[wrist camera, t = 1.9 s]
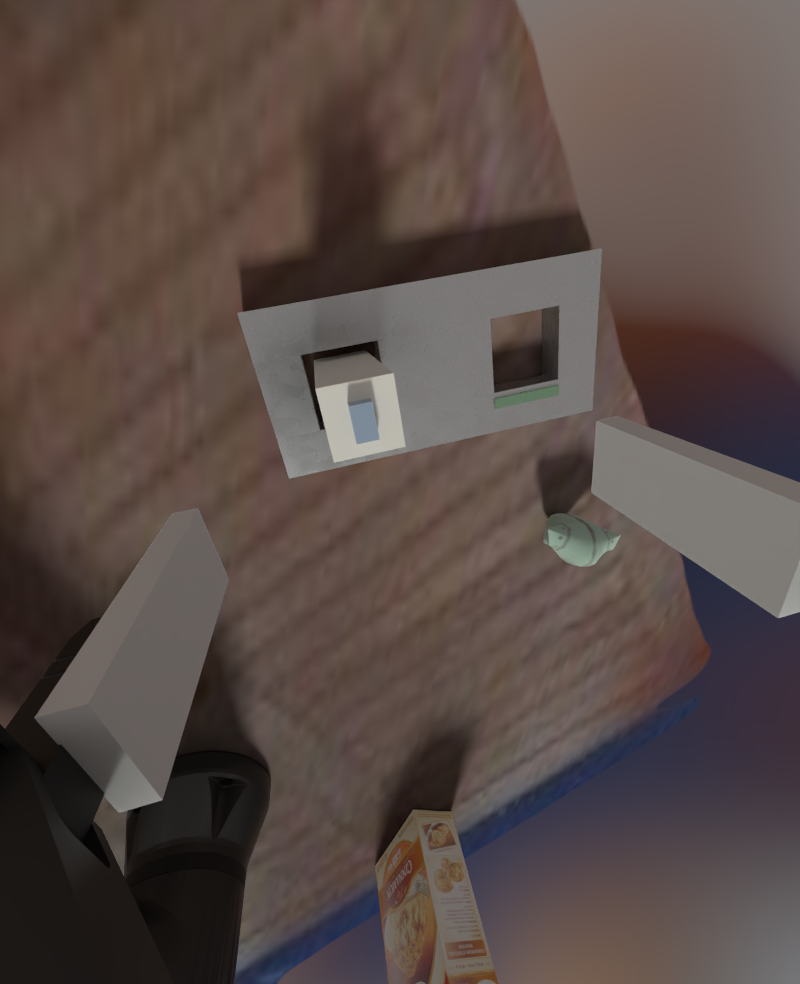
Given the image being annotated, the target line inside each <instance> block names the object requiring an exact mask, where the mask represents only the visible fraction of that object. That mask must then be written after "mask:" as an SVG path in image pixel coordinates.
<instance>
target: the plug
mask: <svg viewBox="0 0 800 984" xmlns="http://www.w3.org/2000/svg"><path fill="white" fill-rule="evenodd" d="M314 376H315V390H316V394H317V398H318V402H319V406H320V410H321V414H322V418H323V422H324V426H325V429H326V433H327V437H328V441H329V445H330V449H331V453H332V457H333V461H334V463H335V462H340V461H344V460H348V459H353V458H357V457H362V456H366V455H371V454H375V453H380V452H384V451H389V450H393V449H398V448H402V447H406V446H405V440H404V434H403V428H402V421H401V415H400V409H399V403H398V397H397V391H396V385H395V378H394V373H393V372H392V371H391V370H389V369H388V368H387V367H386V366H384V365H383V364H382V363H381V362H379V361H378V360H377V359H376V358H374V357H373V356H372V355H371V354H369V353H368V352H367V351H366V350H362V351H357V352H352V353H347V354H341V355H336V356H331V357H326V358H321V359H316V360H314Z"/></svg>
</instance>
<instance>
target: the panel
mask: <svg viewBox="0 0 800 984" xmlns="http://www.w3.org/2000/svg"><path fill="white" fill-rule="evenodd" d="M601 256H602V248H601V249H595V250H590V251H584V252H578V253H573V254H567V255H562V256H556V257H550V258H545V259H539V260H533V261H528V262H522V263H516V264H511V265H505V266H500V267H494V268H488V269H483V270H477V271H471V272H466V273H460V274H454V275H449V276H443V277H438V278H432V279H426V280H421V281H415V282H409V283H404V284H398V285H392V286H387V287H381V288H376V289H370V290H364V291H359V292H353V293H347V294H342V295H336V296H330V297H325V298H319V299H314V300H308V301H302V302H297V303H291V304H285V305H280V306H274V307H268V308H263V309H257V310H252V311H246V312H240V313H237V314H238V317H239V320H240V323H241V327H242V330H243V333H244V336H245V339H246V343H247V346H248V349H249V352H250V355H251V358H252V362H253V365H254V368H255V371H256V374H257V378H258V381H259V384H260V387H261V390H262V393H263V397H264V400H265V403H266V406H267V409H268V413H269V416H270V419H271V422H272V425H273V428H274V432H275V435H276V438H277V441H278V444H279V447H280V451H281V454H282V457H283V460H284V463H285V467H286V470H287V473H288V476H289V478H294V477H298V476H303V475H307V474H312V473H316V472H320V471H325V470H329V469H334V468H338V467H343V466H347V465H351V464H356V463H360V462H365V461H369V460H374V459H378V458H382V457H387V456H391V455H396V454H400V453H405V452H409V451H413V450H418V449H422V448H427V447H431V446H436V445H440V444H444V443H449V442H453V441H458V440H462V439H467V438H471V437H475V436H480V435H484V434H489V433H493V432H498V431H502V430H507V429H511V428H515V427H520V426H524V425H529V424H533V423H538V422H542V421H546V420H551V419H555V418H560V417H564V416H569V415H573V414H577V413H582V412H586V411H591V410H592V408H593V391H594V374H595V358H596V341H597V324H598V307H599V290H600V273H601ZM538 309H542V375H538V376H534V377H529V378H524V379H519V380H515V381H510V382H505V383H501V384H496V385H494V381H493V362H492V343H491V324H490V319H491V318H497V317H502V316H507V315H512V314H517V313H523V312H528V311H533V310H538ZM372 341H373V343H374V348H375V354H376V359H377V360H378V361H379V362H381V363H382V364H383V365H384V366H386V367H387V368H388V369H389V370H391V371H392V372H393V373H394V378H395V385H396V391H397V397H398V403H399V409H400V415H401V421H402V428H403V434H404V440H405V446H406V447H402V448H398V449H393V450H389V451H384V452H380V453H375V454H371V455H366V456H362V457H357V458H353V459H348V460H344V461H340V462H335V463H334V461H333V457H332V453H331V449H330V445H329V441H328V437H327V433H326V429H325V426H324V422H323V421H321V422H319V418H318V415H317V411H316V407H315V403H314V399H313V395H312V391H311V388H310V384H309V380H308V376H307V372H306V368H305V364H304V360H303V357H302V355H304V354H309V353H314V352H320V351H325V350H330V349H335V348H341V347H346V346H351V345H356V344H361V343H367V342H372Z"/></svg>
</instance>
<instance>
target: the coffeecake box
mask: <svg viewBox="0 0 800 984" xmlns="http://www.w3.org/2000/svg"><path fill="white" fill-rule="evenodd" d="M375 868H376V876H377V885H378V894H379V902H380V911H381V920H382V929H383V938H384V947H385V956H386V966H387V974H388V983H389V984H498V982H497V978H496V975H495V971H494V967H493V964H492V960H491V956H490V952H489V949H488V945H487V941H486V938H485V934H484V930H483V927H482V923H481V919H480V916H479V912H478V908H477V905H476V902H475V898H474V894H473V890H472V887H471V883H470V879H469V876H468V872H467V868H466V864H465V861H464V857H463V853H462V850H461V846H460V843H459V839H458V835H457V831H456V828H455V824H454V820H453V816H452V812H451V811H432V810H412V812H411V813H410V815H409V816H408V818H407V819H406V821H405V822H404V824H403V825H402V827H401V828H400V830H399V831H398V833H397V834H396V836H395V837H394V839H393V840H392V842H391V843H390V845H389V846H388V848H387V849H386V851H385V852H384V853H383V855H382V856H381V858H380V859H379V861H378V862H377V864H376V865H375Z"/></svg>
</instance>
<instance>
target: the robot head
mask: <svg viewBox="0 0 800 984" xmlns="http://www.w3.org/2000/svg"><path fill="white" fill-rule="evenodd" d="M620 536H621V535H620V534H617V533H615V532H612V531H610V530H607V529H605V528H602V527H600V526H598V525H596V524H593V523H591V522H589V521H587V520H585V519H583V518H581V517H578V516H575V515H571V514H566V513H557V514H553V515H551V516H550V517H549V519H548V520H547V522H546V531H545V532H544V541H543V542H544V543H546V544H548V545H549V546H551V547H552V548H553V549H554V550H555V551H556V553H557V554H558V555H559V556H560V558H562V559H563V560H564V561H566V562H567V563H569V564H572V565H575V566H578V567H585V566H591V565H593V564H595V563H596V562H597V561H598V559H599V558H600V557H601V555H602V554H604V553H605V552H606V551H609V550H613V549H614V547H615V545H616V543H617V541H618V540H619V538H620Z"/></svg>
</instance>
